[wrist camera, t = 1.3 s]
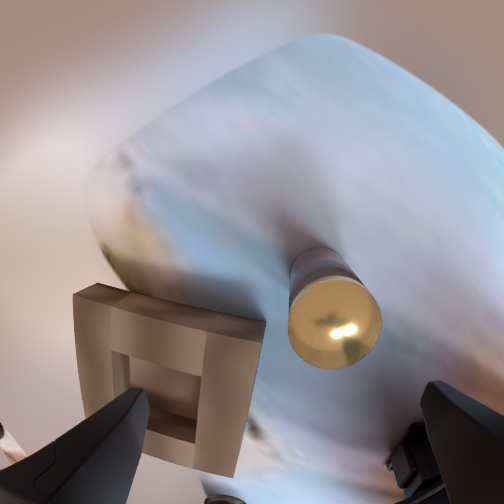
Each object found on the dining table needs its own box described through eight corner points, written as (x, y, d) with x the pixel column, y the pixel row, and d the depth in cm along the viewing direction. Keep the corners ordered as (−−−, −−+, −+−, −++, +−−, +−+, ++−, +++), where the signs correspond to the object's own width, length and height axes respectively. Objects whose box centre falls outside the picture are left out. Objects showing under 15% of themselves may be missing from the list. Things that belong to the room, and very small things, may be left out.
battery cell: (353, 253, 21) (392, 290, 12) (340, 307, 21) (366, 373, 13) (296, 242, 21) (298, 273, 12) (285, 298, 22) (279, 361, 13)
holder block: (266, 321, 22) (261, 343, 19) (239, 452, 25) (233, 478, 21) (97, 282, 24) (72, 294, 20) (104, 411, 26) (88, 430, 23)
